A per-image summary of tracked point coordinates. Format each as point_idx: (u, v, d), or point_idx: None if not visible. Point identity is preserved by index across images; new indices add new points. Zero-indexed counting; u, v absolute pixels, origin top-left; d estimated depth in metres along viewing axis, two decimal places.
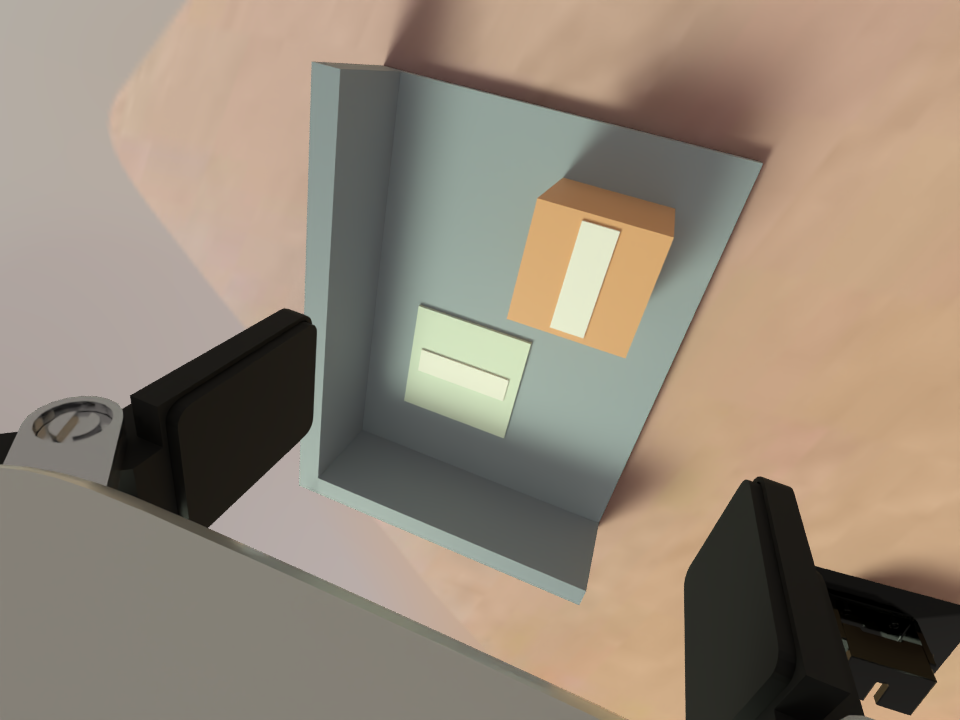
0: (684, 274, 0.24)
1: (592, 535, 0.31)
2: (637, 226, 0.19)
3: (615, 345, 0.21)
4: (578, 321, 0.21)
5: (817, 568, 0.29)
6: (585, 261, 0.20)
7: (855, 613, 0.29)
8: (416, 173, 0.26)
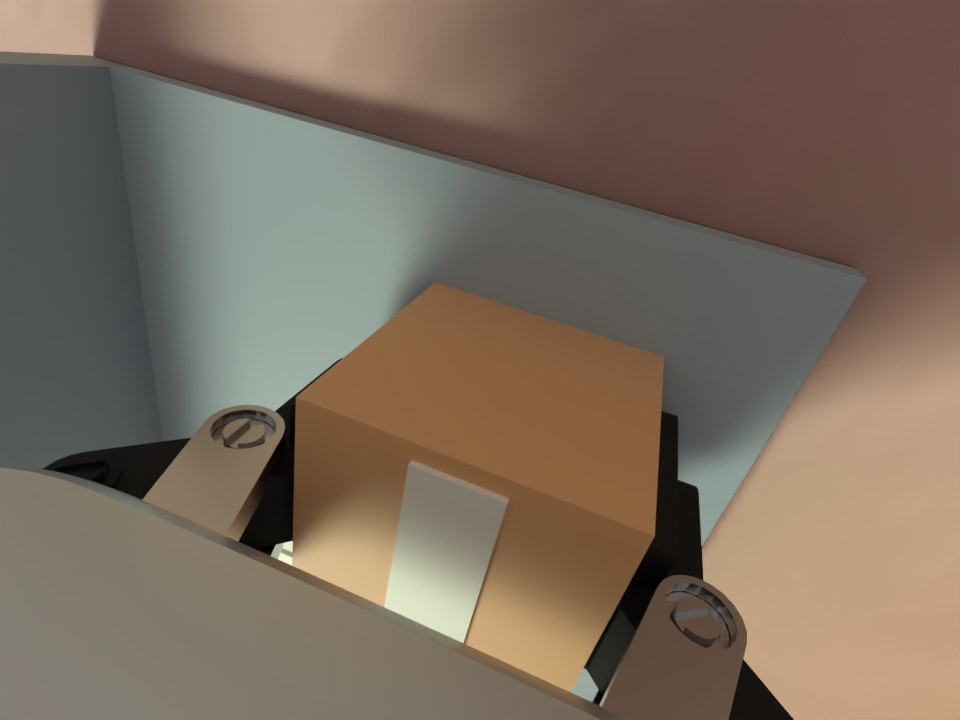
0: (684, 476, 0.12)
1: None
2: (554, 491, 0.07)
3: None
4: None
5: None
6: (430, 549, 0.08)
7: None
8: (179, 260, 0.14)
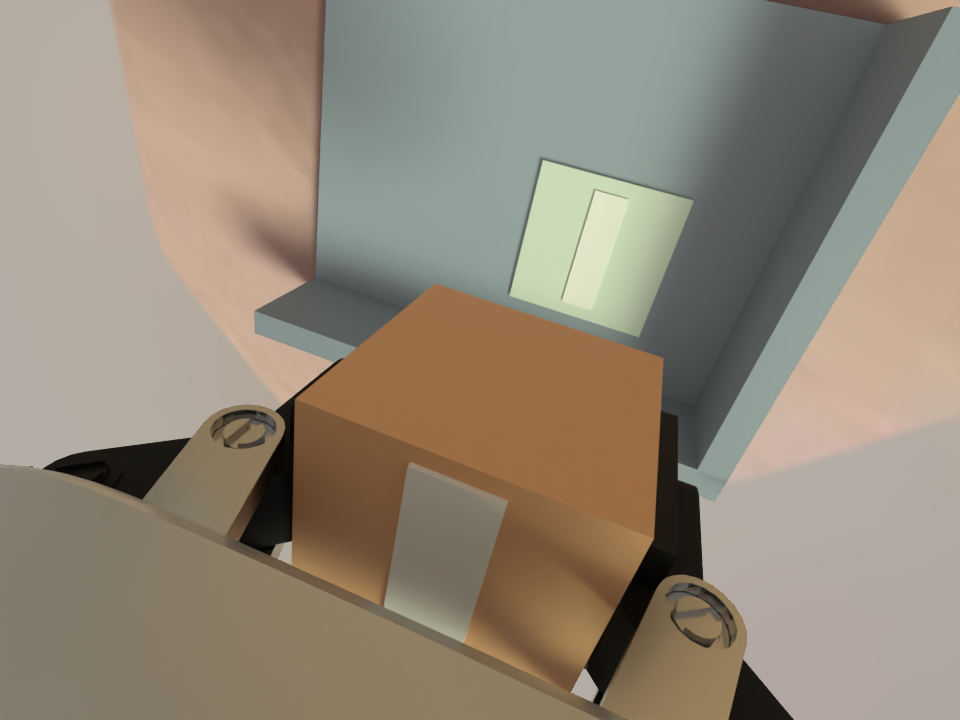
0: None
1: (894, 28, 0.17)
2: (553, 494, 0.07)
3: None
4: None
5: None
6: (429, 551, 0.08)
7: None
8: (385, 276, 0.28)
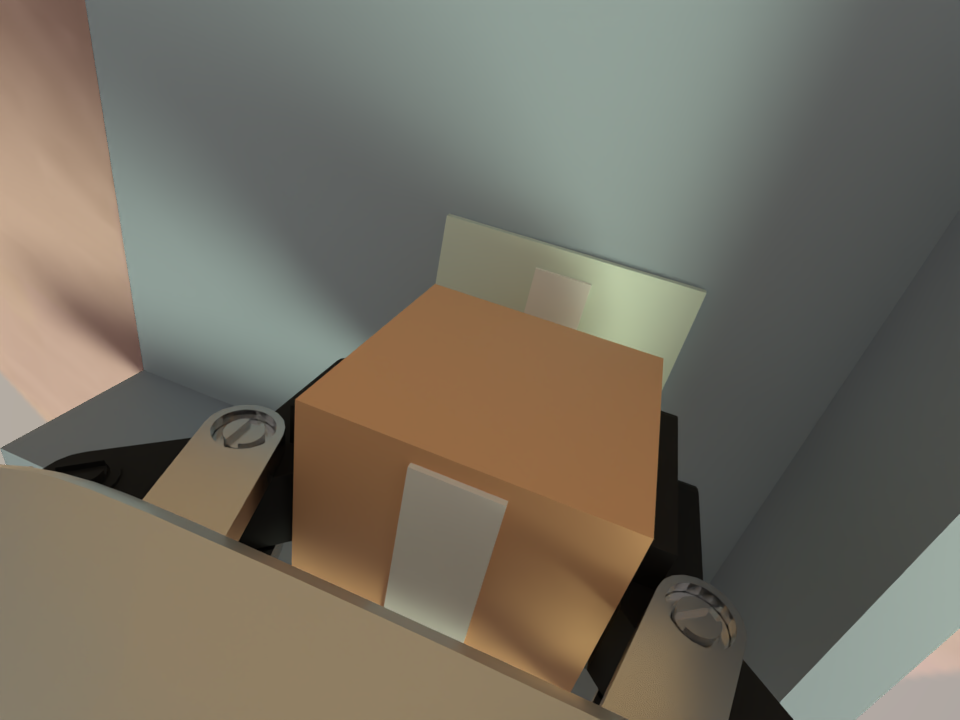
0: None
1: None
2: (553, 494, 0.07)
3: None
4: None
5: None
6: (429, 551, 0.08)
7: None
8: (236, 375, 0.18)
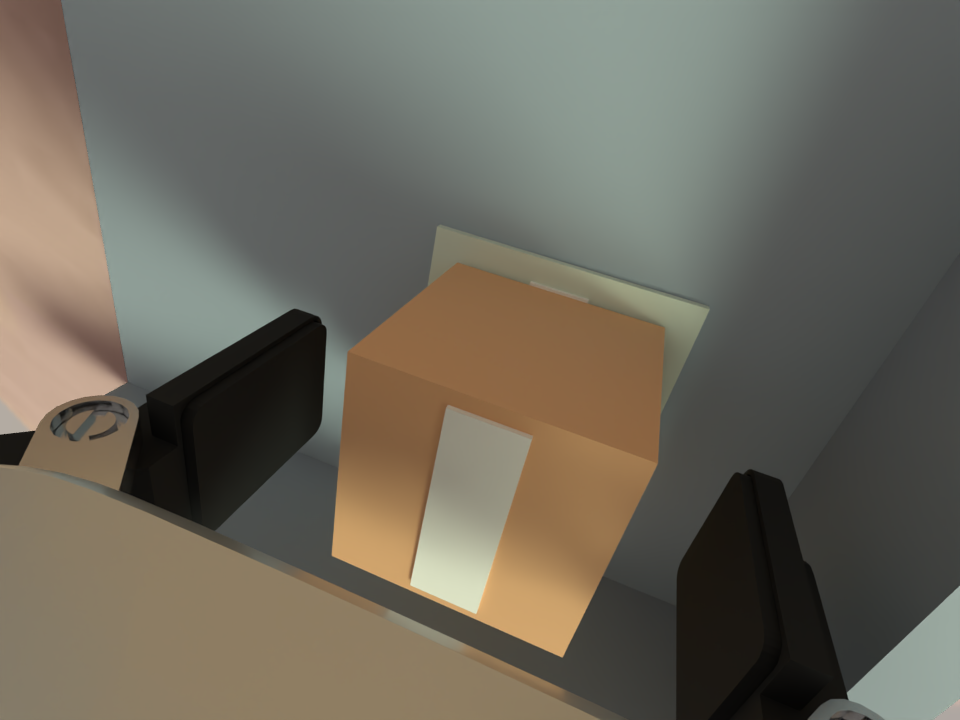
0: None
1: None
2: (571, 428, 0.08)
3: (540, 633, 0.10)
4: (463, 582, 0.10)
5: None
6: (462, 486, 0.09)
7: None
8: None
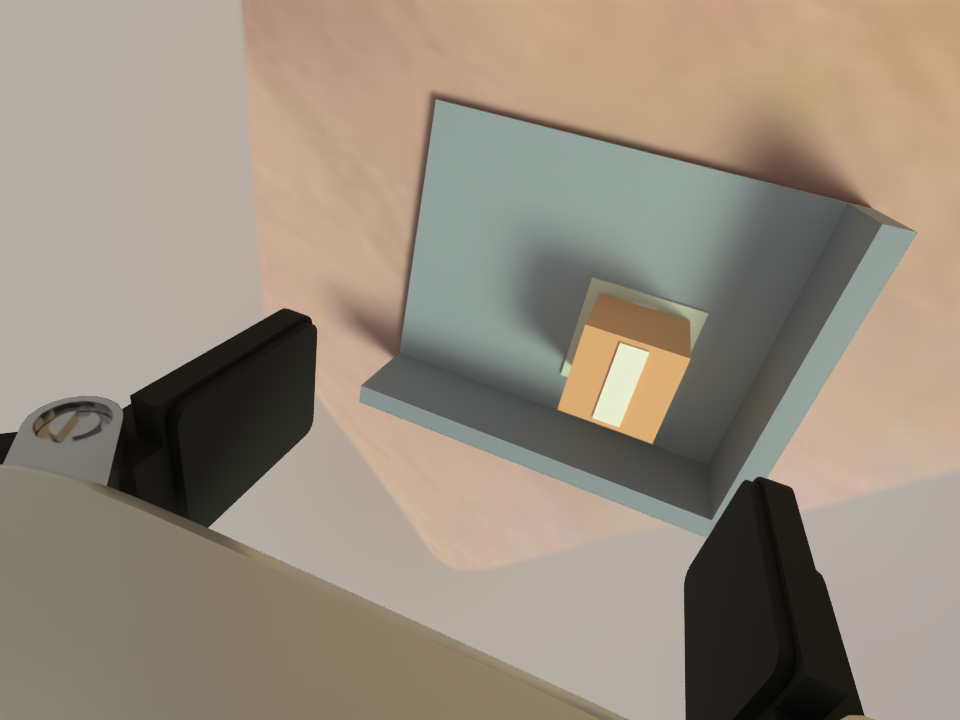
0: (520, 143, 0.28)
1: (852, 211, 0.23)
2: (662, 348, 0.25)
3: (644, 433, 0.27)
4: (614, 414, 0.27)
5: None
6: (621, 371, 0.26)
7: None
8: (458, 354, 0.35)
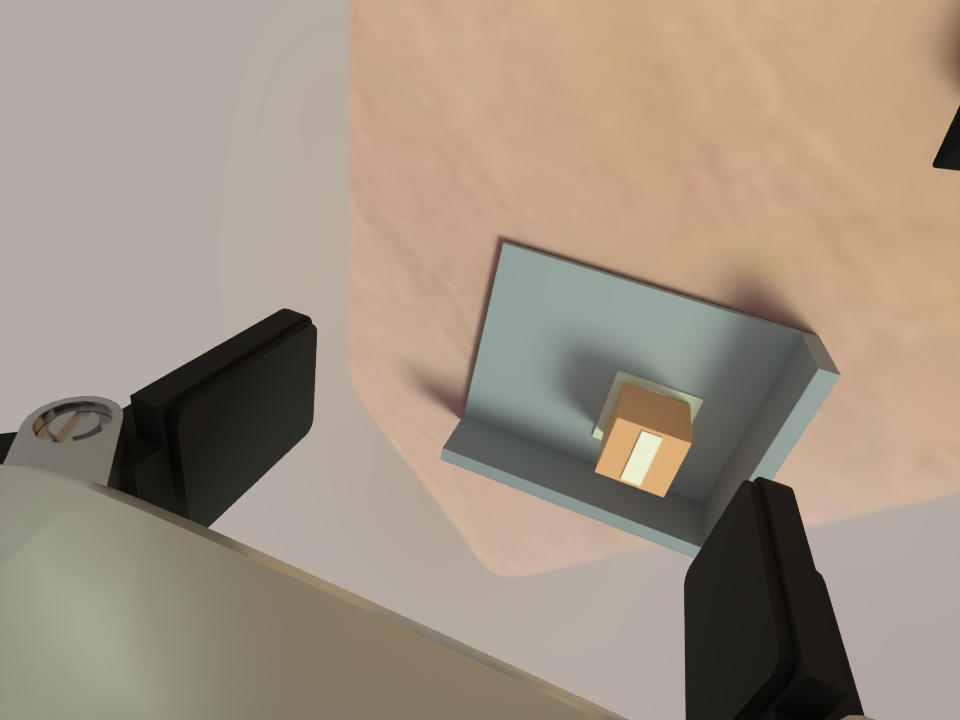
0: (566, 277, 0.38)
1: (803, 343, 0.34)
2: (672, 435, 0.35)
3: (658, 490, 0.37)
4: (636, 477, 0.37)
5: (948, 132, 0.28)
6: (642, 449, 0.36)
7: None
8: (512, 418, 0.45)
